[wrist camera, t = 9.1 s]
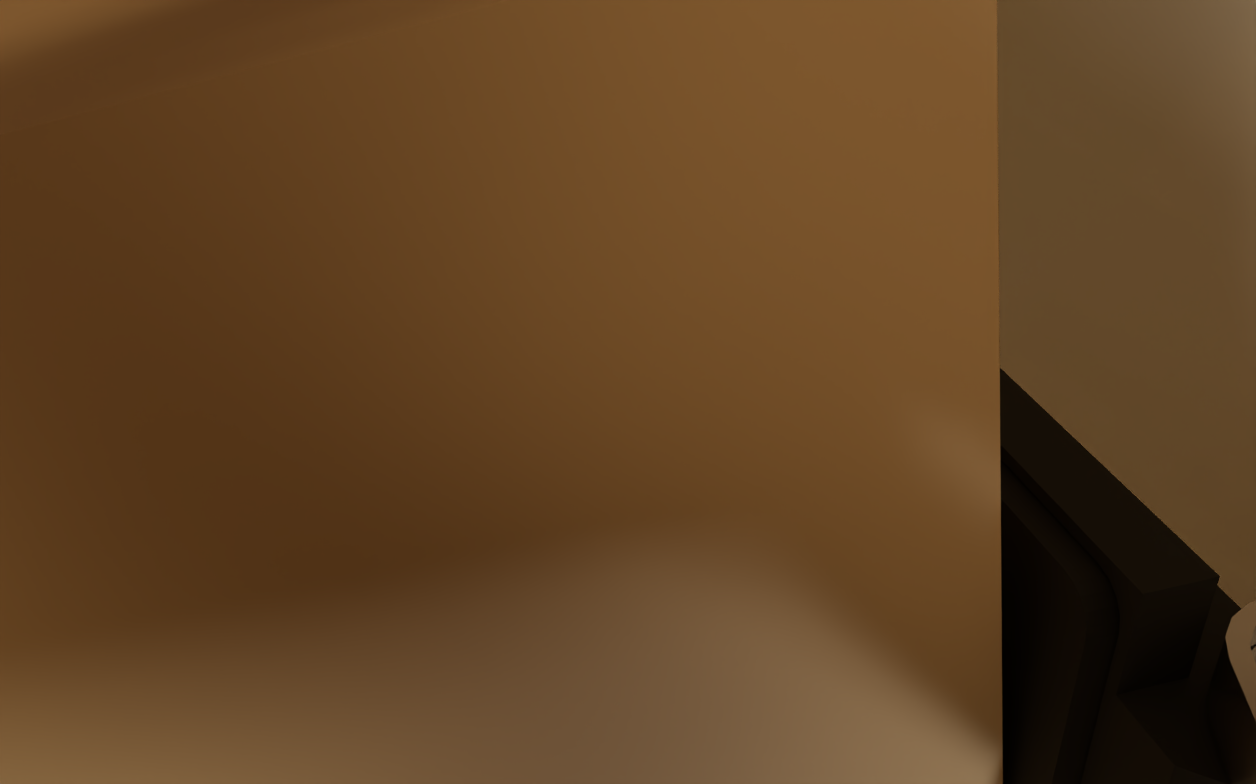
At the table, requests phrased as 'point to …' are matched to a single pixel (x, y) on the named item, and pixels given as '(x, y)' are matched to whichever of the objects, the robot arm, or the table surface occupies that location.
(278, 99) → the tan rectangular block
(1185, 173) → the table surface
